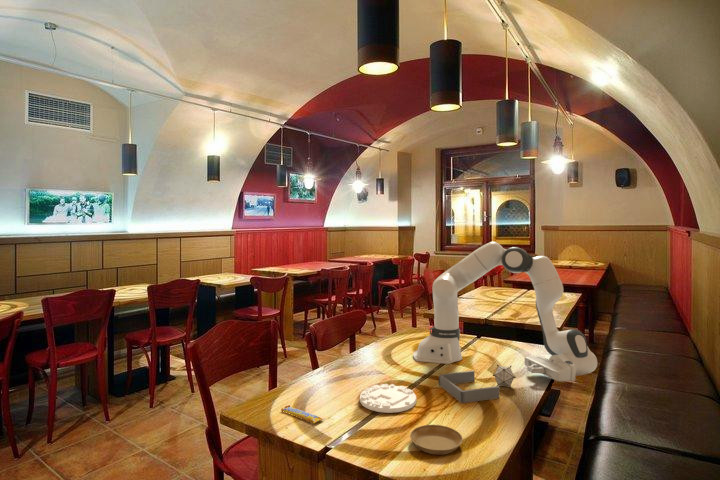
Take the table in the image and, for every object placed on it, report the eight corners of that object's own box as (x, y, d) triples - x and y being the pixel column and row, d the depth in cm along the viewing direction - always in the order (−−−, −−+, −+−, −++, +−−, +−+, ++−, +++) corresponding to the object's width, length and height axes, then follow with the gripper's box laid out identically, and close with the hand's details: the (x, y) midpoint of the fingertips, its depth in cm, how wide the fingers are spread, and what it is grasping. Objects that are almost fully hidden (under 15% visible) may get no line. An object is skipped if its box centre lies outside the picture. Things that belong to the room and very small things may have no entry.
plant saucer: (404, 453, 120) (404, 444, 120) (416, 429, 134) (416, 421, 134) (458, 463, 115) (458, 454, 115) (465, 437, 129) (465, 429, 129)
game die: (507, 394, 168) (521, 373, 169) (507, 394, 161) (522, 372, 161) (487, 379, 172) (501, 358, 173) (485, 379, 165) (500, 357, 165)
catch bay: (473, 380, 174) (473, 370, 173) (499, 398, 156) (499, 387, 156) (438, 384, 169) (438, 374, 169) (461, 403, 152) (461, 391, 152)
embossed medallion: (377, 420, 141) (377, 411, 141) (350, 398, 159) (350, 390, 158) (427, 407, 150) (427, 398, 150) (397, 387, 168) (396, 380, 168)
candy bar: (279, 413, 147) (279, 407, 147) (288, 408, 150) (288, 403, 150) (315, 427, 137) (315, 421, 137) (324, 422, 140) (324, 416, 140)
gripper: (541, 350, 183) (513, 354, 180) (578, 366, 164) (547, 370, 160) (541, 365, 184) (513, 369, 180) (578, 382, 164) (547, 387, 160)
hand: (529, 369), depth 170 cm, fingers closed
